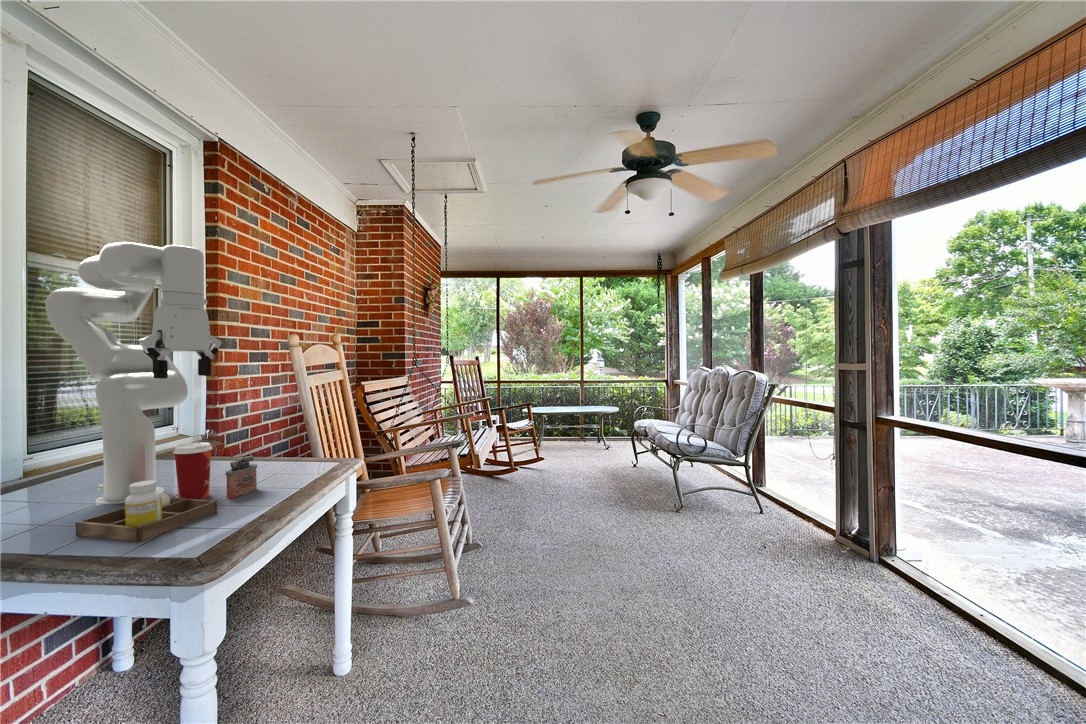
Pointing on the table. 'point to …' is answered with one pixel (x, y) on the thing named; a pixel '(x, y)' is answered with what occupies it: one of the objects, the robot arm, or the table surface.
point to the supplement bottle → (143, 504)
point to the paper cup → (193, 469)
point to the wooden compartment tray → (172, 517)
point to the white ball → (165, 499)
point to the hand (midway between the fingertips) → (183, 376)
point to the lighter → (241, 477)
